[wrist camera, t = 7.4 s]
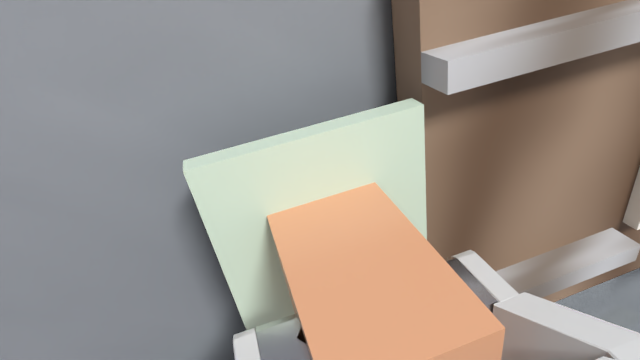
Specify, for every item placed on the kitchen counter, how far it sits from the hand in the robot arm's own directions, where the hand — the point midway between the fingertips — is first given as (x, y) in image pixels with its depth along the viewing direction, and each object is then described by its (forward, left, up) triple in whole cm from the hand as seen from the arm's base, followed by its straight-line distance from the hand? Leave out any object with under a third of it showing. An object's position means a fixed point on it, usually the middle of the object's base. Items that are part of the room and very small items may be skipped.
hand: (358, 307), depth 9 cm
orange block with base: (0, 0, -3) cm, 3 cm away
